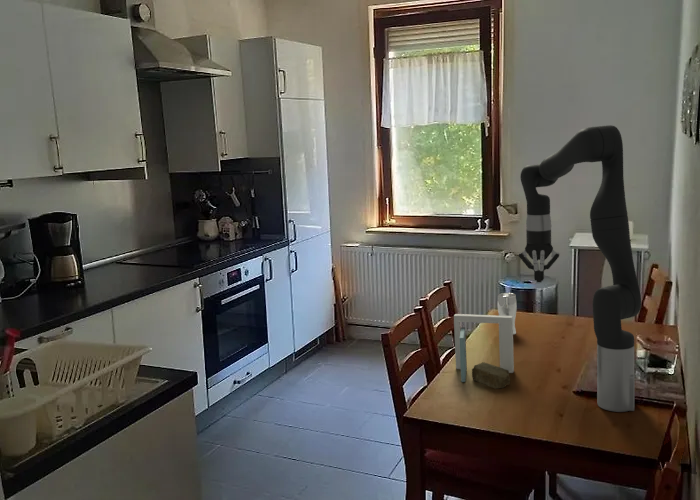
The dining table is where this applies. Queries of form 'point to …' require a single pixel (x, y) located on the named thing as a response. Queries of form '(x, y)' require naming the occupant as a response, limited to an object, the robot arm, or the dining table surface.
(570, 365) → the dining table surface
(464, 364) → the door
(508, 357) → the door frame
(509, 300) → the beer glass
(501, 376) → the stone block
